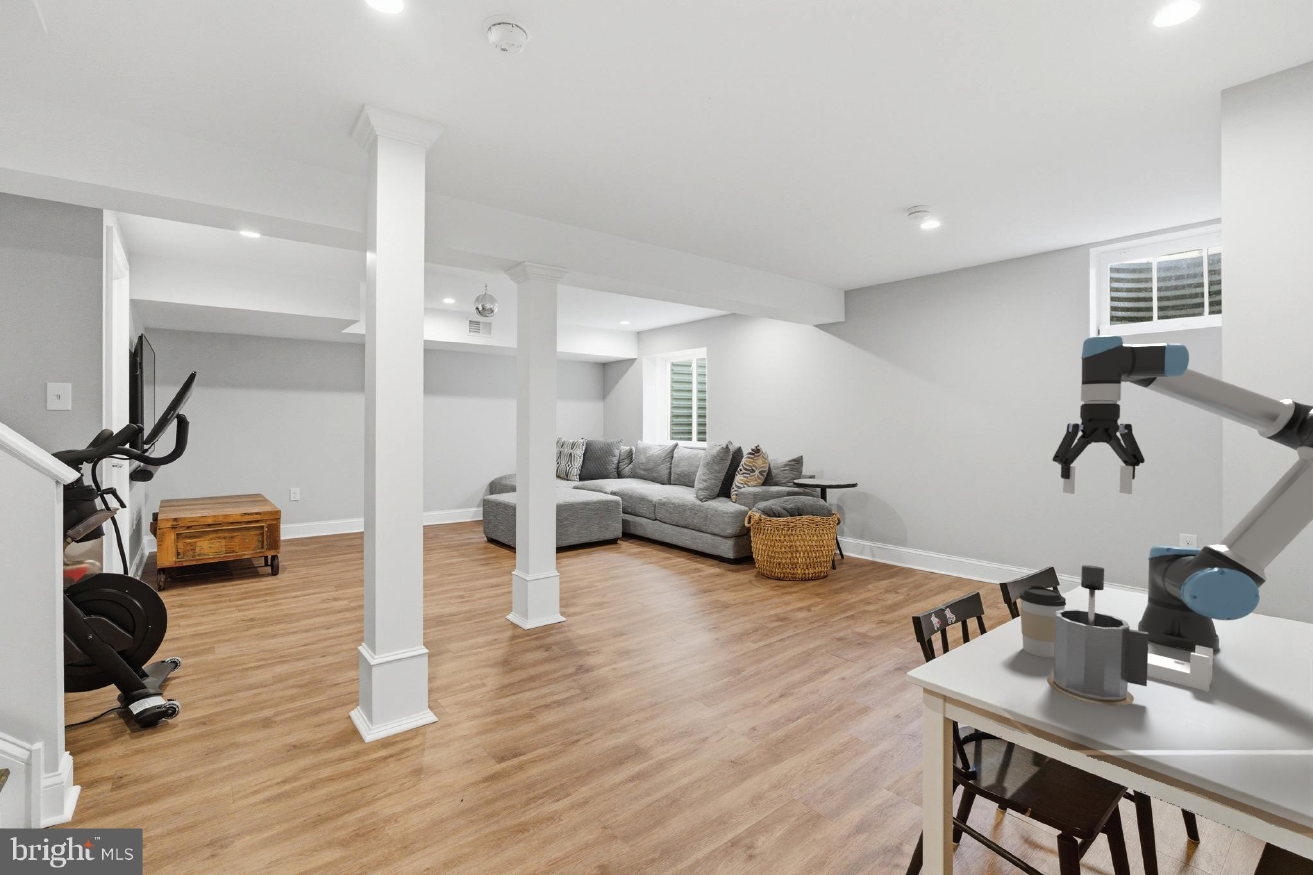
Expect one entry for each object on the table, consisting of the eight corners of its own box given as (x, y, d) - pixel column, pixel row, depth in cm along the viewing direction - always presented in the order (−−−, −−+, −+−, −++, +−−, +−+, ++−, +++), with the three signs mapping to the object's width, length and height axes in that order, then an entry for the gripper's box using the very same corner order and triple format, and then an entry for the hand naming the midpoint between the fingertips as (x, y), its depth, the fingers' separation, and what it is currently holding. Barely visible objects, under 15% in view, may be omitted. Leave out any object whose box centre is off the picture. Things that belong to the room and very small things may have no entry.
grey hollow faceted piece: (1102, 675, 126) (1105, 609, 125) (1150, 702, 114) (1153, 629, 113) (1040, 675, 125) (1042, 609, 125) (1081, 702, 113) (1083, 629, 113)
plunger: (1094, 659, 123) (1097, 562, 123) (1125, 675, 115) (1129, 572, 115) (1055, 658, 123) (1058, 562, 123) (1084, 675, 115) (1087, 572, 115)
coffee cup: (1072, 663, 133) (1074, 596, 133) (1027, 659, 135) (1029, 593, 135) (1053, 648, 142) (1055, 585, 142) (1011, 645, 144) (1013, 582, 143)
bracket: (1211, 685, 124) (1213, 648, 123) (1206, 695, 119) (1208, 657, 119) (1132, 665, 133) (1133, 631, 133) (1124, 673, 129) (1126, 639, 128)
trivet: (1097, 676, 127) (1097, 673, 127) (1153, 708, 113) (1153, 705, 113) (1031, 676, 126) (1031, 673, 126) (1079, 708, 112) (1079, 705, 112)
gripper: (1139, 403, 145) (1136, 491, 146) (1037, 402, 144) (1034, 490, 145) (1166, 403, 137) (1163, 495, 138) (1058, 402, 137) (1055, 494, 138)
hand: (1097, 493), depth 142 cm, fingers open, 13 cm apart
